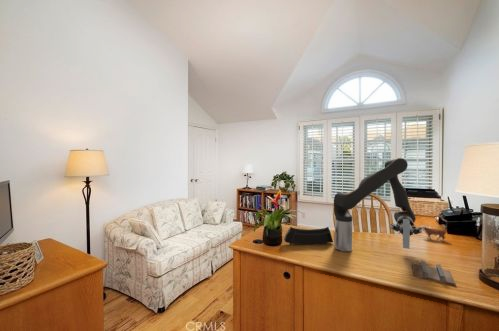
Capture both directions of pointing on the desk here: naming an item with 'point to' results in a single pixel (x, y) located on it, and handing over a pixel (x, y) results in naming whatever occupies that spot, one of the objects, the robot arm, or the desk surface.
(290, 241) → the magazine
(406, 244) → the door panel
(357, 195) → the robot arm
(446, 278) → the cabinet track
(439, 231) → the bull figurine
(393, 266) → the desk surface
